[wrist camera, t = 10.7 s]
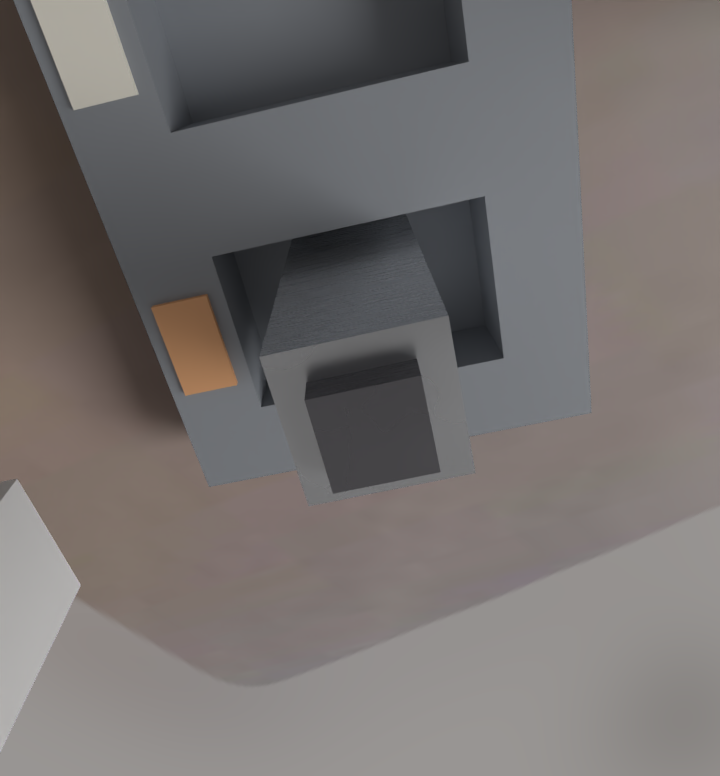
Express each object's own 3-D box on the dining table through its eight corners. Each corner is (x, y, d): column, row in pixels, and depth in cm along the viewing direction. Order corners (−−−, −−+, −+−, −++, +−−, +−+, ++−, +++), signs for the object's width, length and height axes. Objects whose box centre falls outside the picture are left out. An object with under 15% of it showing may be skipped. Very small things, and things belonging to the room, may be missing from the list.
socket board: (0, -173, 17) (-84, -230, 14) (510, -317, 16) (554, -416, 13) (225, 435, 26) (208, 490, 23) (560, 368, 25) (593, 415, 22)
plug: (292, 237, 22) (254, 374, 12) (404, 211, 22) (454, 330, 12) (320, 340, 24) (306, 528, 14) (424, 317, 23) (482, 494, 14)
